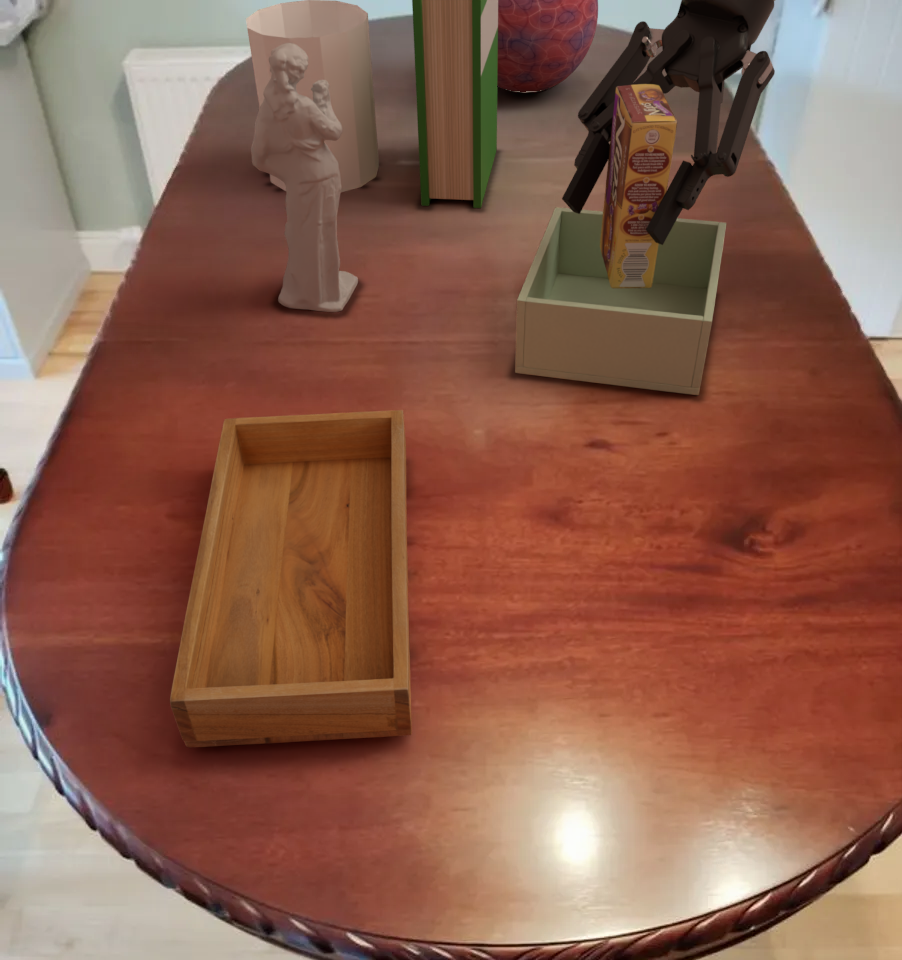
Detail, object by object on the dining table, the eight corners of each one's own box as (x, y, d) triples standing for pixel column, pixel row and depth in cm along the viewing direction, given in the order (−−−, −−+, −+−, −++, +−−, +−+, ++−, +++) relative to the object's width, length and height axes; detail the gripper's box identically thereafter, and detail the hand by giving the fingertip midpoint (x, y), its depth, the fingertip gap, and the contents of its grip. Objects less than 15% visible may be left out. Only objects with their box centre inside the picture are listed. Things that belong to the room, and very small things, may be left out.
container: (389, 152, 135) (379, 1, 122) (364, 198, 125) (351, 40, 112) (286, 146, 137) (266, -2, 124) (254, 191, 127) (228, 36, 114)
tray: (234, 467, 88) (222, 413, 84) (406, 459, 88) (403, 405, 84) (186, 755, 66) (166, 701, 62) (413, 743, 67) (409, 689, 63)
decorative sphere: (610, 106, 144) (624, -56, 130) (476, 120, 142) (474, -43, 127) (569, 60, 158) (578, -90, 144) (446, 73, 155) (442, -79, 141)
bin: (713, 292, 107) (726, 222, 101) (698, 395, 94) (712, 321, 88) (551, 276, 110) (555, 206, 105) (514, 373, 97) (516, 300, 91)
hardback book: (480, 208, 122) (480, -15, 105) (421, 205, 123) (411, -16, 106) (496, 149, 134) (498, -59, 117) (442, 147, 135) (436, -60, 118)
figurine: (342, 263, 113) (315, 17, 95) (375, 302, 107) (353, 47, 89) (262, 282, 111) (219, 34, 93) (291, 323, 104) (251, 65, 86)
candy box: (656, 289, 94) (679, 120, 83) (610, 291, 94) (627, 122, 83) (641, 244, 100) (660, 82, 89) (598, 246, 100) (612, 83, 89)
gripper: (859, 33, 85) (723, 275, 89) (651, -13, 96) (538, 206, 100) (844, -24, 79) (699, 240, 83) (624, -66, 90) (504, 169, 93)
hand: (611, 221), depth 91 cm, fingers closed on candy box, 9 cm apart
